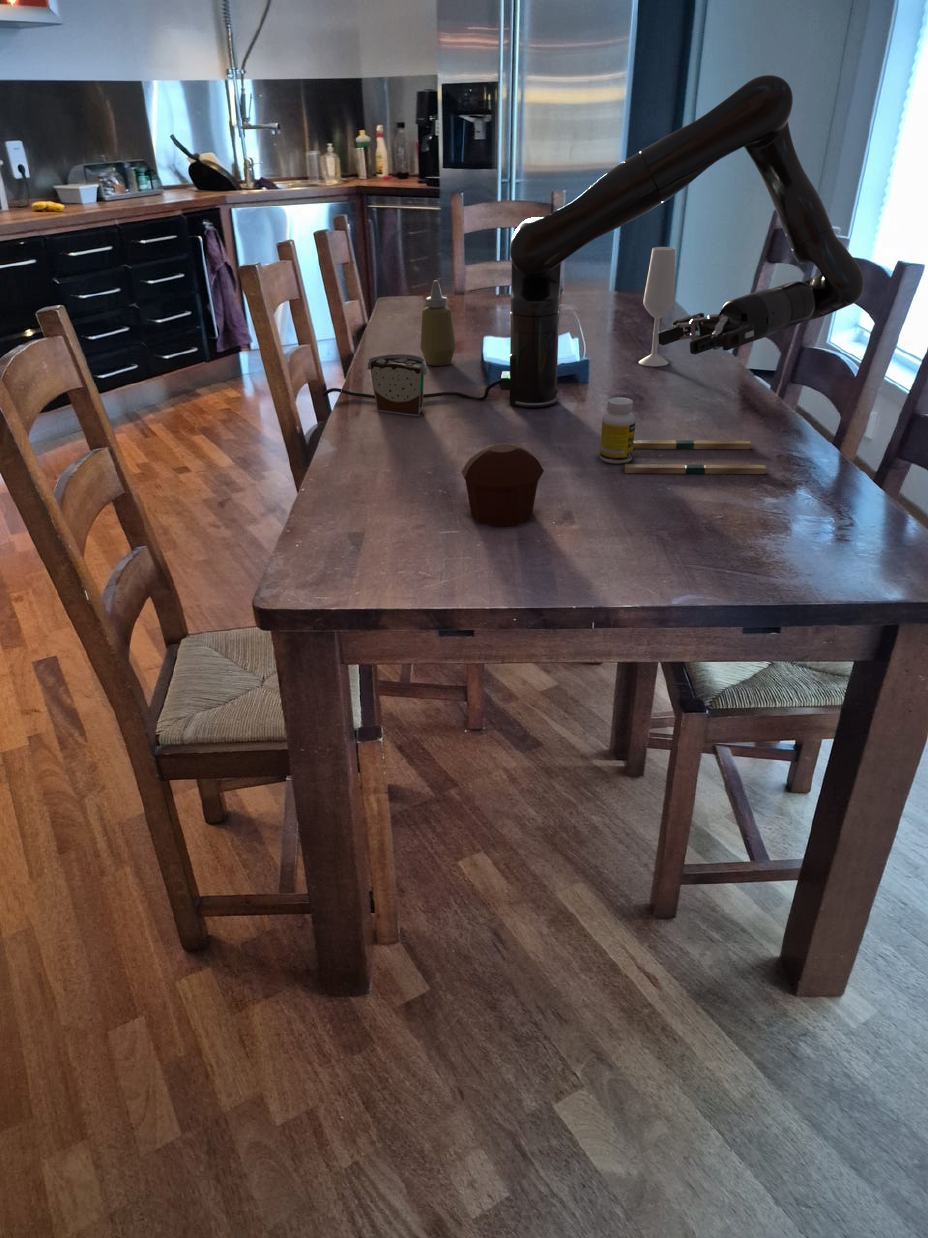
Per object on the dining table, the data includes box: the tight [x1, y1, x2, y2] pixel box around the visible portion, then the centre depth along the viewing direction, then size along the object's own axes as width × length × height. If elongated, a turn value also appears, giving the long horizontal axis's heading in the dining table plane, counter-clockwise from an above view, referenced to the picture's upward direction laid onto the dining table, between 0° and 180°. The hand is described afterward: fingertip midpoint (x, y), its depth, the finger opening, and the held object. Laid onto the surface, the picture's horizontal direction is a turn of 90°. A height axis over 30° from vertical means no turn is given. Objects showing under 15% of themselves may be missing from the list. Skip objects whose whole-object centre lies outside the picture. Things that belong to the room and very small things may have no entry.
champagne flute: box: [638, 246, 676, 367], centre depth 190 cm, size 7×7×24 cm
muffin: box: [460, 443, 545, 528], centre depth 123 cm, size 12×11×10 cm
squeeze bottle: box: [420, 279, 457, 367], centre depth 195 cm, size 8×8×18 cm
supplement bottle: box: [599, 397, 636, 465], centre depth 141 cm, size 5×5×10 cm
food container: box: [366, 353, 429, 417], centre depth 167 cm, size 12×6×10 cm, turn 65°
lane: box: [624, 439, 768, 475], centre depth 143 cm, size 22×13×1 cm, turn 86°
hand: (675, 343), depth 140 cm, fingers open, 8 cm apart
